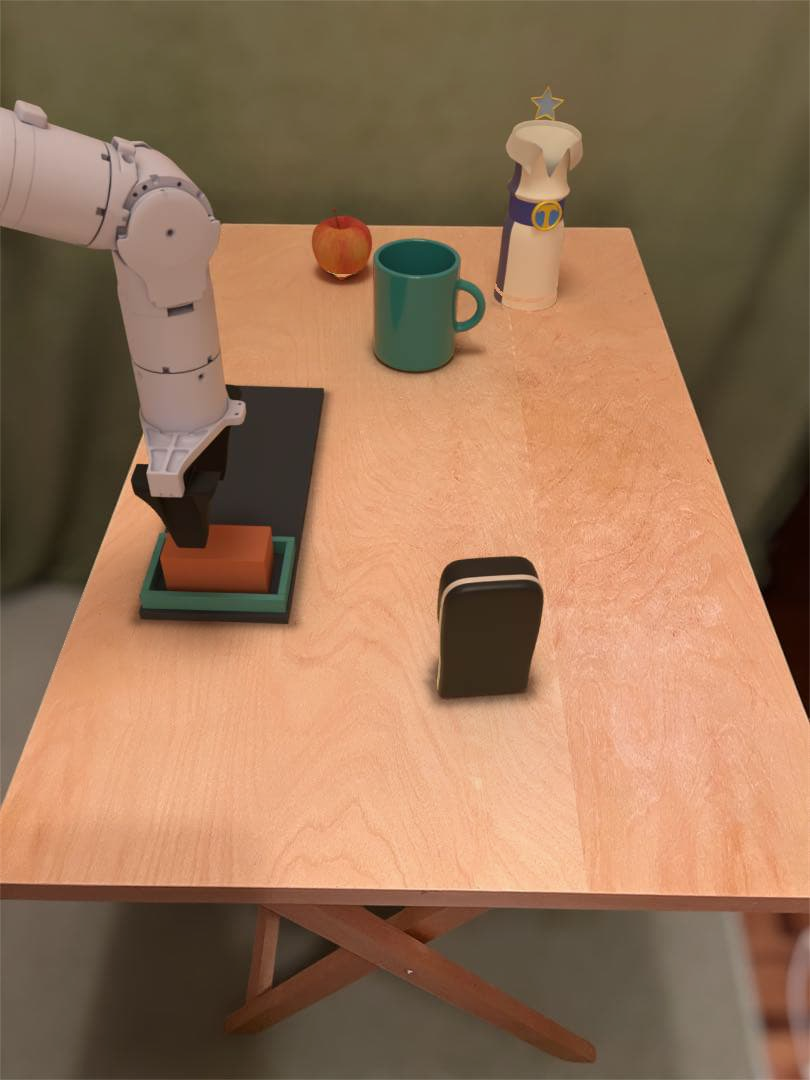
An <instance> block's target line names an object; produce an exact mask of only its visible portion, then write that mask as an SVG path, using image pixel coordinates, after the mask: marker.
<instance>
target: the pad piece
mask: <svg viewBox="0 0 810 1080" xmlns="http://www.w3.org/2000/svg"><path fill="white" fill-rule="evenodd" d="M160 560H161V564H162V569H163V573H164V578H165V582H166V587H167V591H181V592H213V593H245V594H269V591H270V585H271V580H272V574H273V569H274V563H275V560H274V551H273V541H272V532H271V527H269V526H237V525H210V526H209V536H208V540H207V544H206V548H204V549H202V548H179V547H177V545H176V544H175V542H174V540H173V539H172V537H171V535H170V533H169V532H168V534H167V538H166V541H165V544H164V547H163V550H162V553H161V556H160Z"/></svg>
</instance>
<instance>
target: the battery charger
mask: <svg viewBox="0 0 810 1080" xmlns="http://www.w3.org/2000/svg"><path fill="white" fill-rule="evenodd" d="M438 584H439V585H438V592H437V603H436V604H437V605H436V618H437V623H438V658H437V670H436V690H437V691H438V693H439V695H440V697H459V696H460V697H461V696H478V695H480V696H481V695H491V694H501V693H503V694H505V693H514V692H523V691H526V690H527V689H528V684H529V676H530V672H531V671H530V670H531V665H532V661H533V657H534V653H535V649H536V646H537V642H538V637H539V633H540V629H541V624H542V618H543V613H544V612H543V611H544V603H545V600H544V599H545V589H544V587H543V584H542V582H541V580H540V578H539V574H538V572H537V570H536V567H535V565H534V564H533V562H532V561H530V560H529V559H528V558H527V557H523V556H519V555H507V556H506V555H505V556H485V557H484V556H483V557H471V558H462V559H457V560H453V561H451V562H450V563H448V564H447V565H445V567H444V568H443V570H442V572H441V575H440V578H439V583H438Z"/></svg>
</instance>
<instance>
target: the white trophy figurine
mask: <svg viewBox="0 0 810 1080" xmlns="http://www.w3.org/2000/svg"><path fill="white" fill-rule="evenodd" d="M530 100H531V102H532V103H534V105H536V107H537V111H536V112H535V113H536V114H535V117H534V119H533V120H532V119H531V120H525V121H522V122H520V123H517V124H516V125H515V126H514V127H513V129H512V132H511V134H510V135H509V137H508V139H507V142H506V143H505V151H506V154H508V156H509V157H510V158H511V160H513V161H515V167H514V171H513V174H512V177H511V178H510V179H509V181H508V182H507V189H508V191H509V202H508V211H507V214H506V216H505V218H504V220H503V224H502V225H503V226H502V230H501V231H502V233H501V238H500V239H501V240H500V249H499V255H498V257H499V258H498V264H497V272H496V278H495V283H496V284H497V287H498V288H499V289H500V291H502V292H504V293H506V294H507V295H511V296H514V297H518V298H527V299H531V298H534V299H537V298H543V297H546V296H548V295H551V294H552V293H554V292H555V291H556V289H557V287H558V288H559V277H560V269H561V260H562V252H563V244H564V237H565V221H564V212H565V205H566V197H567V196H568V195H569V194H570V192H571V187H570V185H569V183H568V177H567V176H568V175H567V174H568V171H569V172H571V171H572V170H573V169H574V168H575V167H576V166H578V164H580V162H581V160H582V158H583V155H584V149H583V140H582V139H583V138H582V137H583V135H582V133H581V131H579V130H578V128H576V127H575V126H574V125H572V124H569V123H566V122H562V121H558V120H556V116H555V109H556V108H557V107H559V106H560V105H561V104H562V103H563V102H564V101H565V100H564V99H561V98H556V97H554V96H553V95H552V91H551V88H550V85H548V86H547V88H546V89H545V91H544V92H543V93H542V95H541V96H534V97H530ZM544 117H546V118H548V119H542V118H544ZM549 119H550V120H549ZM568 167H569V169H568ZM493 296H494V299H495V301H497V303H499V304H501V305H502V306H504V307H506V308H509V309H511V310H516V311H520V312H521V311H522V312H538V311H542V310H543V311H544V310H547V309H549V308H551V307H553V306H554V305H555V304H556V302H557V299H558V293H557V294H556V296H555V297H553V298H552V299H550V300H548V301H545V302H541V303H520V302H515V301H512V300H509V299H506V298H504V297H503V296H501V295H500V294H499V293H498V292H497V291H496V289H495V288H494V289H493Z"/></svg>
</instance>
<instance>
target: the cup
mask: <svg viewBox="0 0 810 1080" xmlns="http://www.w3.org/2000/svg"><path fill="white" fill-rule="evenodd" d="M461 263H462V258H461V255H460V253H459V252H458V251H457V249H455V248H454V247H452V246H450V245H448V244H446V243H445V242H442V241H438V240H433V239H429V238H428V239H427V238H419V237H417V238H413V237H412V238H402V239H396V240H393V241H392V240H391V241H389V242H386V243H384V244H382V245H381V246H379V247H378V248H376V250H375V252H374V253H373V257H372V319H373V320H372V337H373V338H372V346H373V351H374V354H375V356H376V357H377V358H378V360H379V361H380V362H382V363H383V364H384V365H386V366H388V367H390V368H393V369H396V370H399V371H404V372H415V373H416V372H427V371H431V370H435V369H438V368H441V367H442V366H444V365H446V364H447V363H448V362H449V361H450V360H451V359H452V358H453V356H454V354H455V350H456V340H457V339H456V337H457V334H459V333H465V332H468V331H470V330H472V329H474V328H475V327H476V326H478V325H479V324H480V323H481V321H482V320H483V318H484V317H485V313H486V309H487V308H486V307H487V303H486V299H485V295H484V293H483V291H482V290H481V289H480V288H479V286H477V285H476V284H474V283H473V282H471V281H469V280H466V279H462V278H461V265H462V264H461ZM460 291H464V292H466V293H468V294H470V295H471V296H472V297H473V299H474V300H475V302H476V303H475V304H476V310H475V312H474V314H473V315H472V316H471V317H469V318H468V319H465V320H463V321H458V311H459V310H458V309H459V294H460Z"/></svg>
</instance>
